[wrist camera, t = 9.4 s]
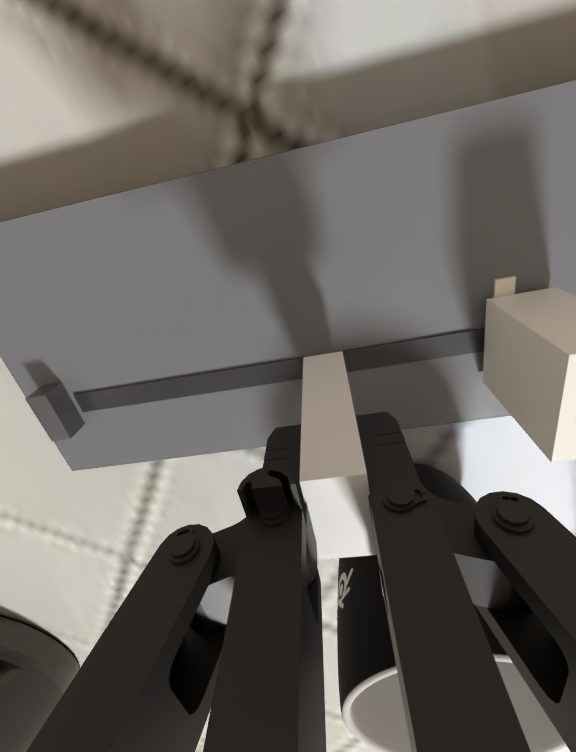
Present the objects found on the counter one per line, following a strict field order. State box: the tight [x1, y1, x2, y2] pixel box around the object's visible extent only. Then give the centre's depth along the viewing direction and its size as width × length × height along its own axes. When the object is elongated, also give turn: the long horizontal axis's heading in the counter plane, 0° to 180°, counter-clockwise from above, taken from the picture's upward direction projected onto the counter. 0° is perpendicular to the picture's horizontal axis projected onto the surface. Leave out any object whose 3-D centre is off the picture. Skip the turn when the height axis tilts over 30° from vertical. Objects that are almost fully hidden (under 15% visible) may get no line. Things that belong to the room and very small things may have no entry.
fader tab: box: [483, 287, 576, 462], centre depth 12 cm, size 2×4×5 cm, turn 12°
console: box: [0, 80, 576, 471], centre depth 15 cm, size 31×12×4 cm, turn 102°
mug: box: [337, 464, 567, 752], centre depth 18 cm, size 12×9×10 cm
